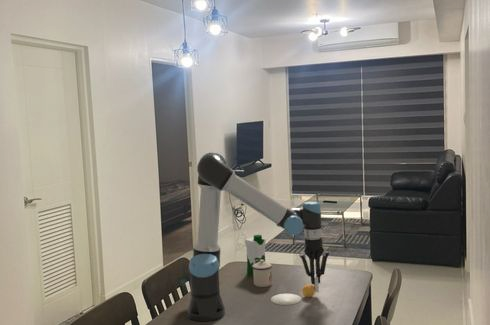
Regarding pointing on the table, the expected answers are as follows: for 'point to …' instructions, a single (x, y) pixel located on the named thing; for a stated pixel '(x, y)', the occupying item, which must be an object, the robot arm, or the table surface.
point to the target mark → (286, 299)
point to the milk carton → (254, 251)
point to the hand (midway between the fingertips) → (316, 290)
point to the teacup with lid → (262, 274)
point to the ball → (308, 290)
